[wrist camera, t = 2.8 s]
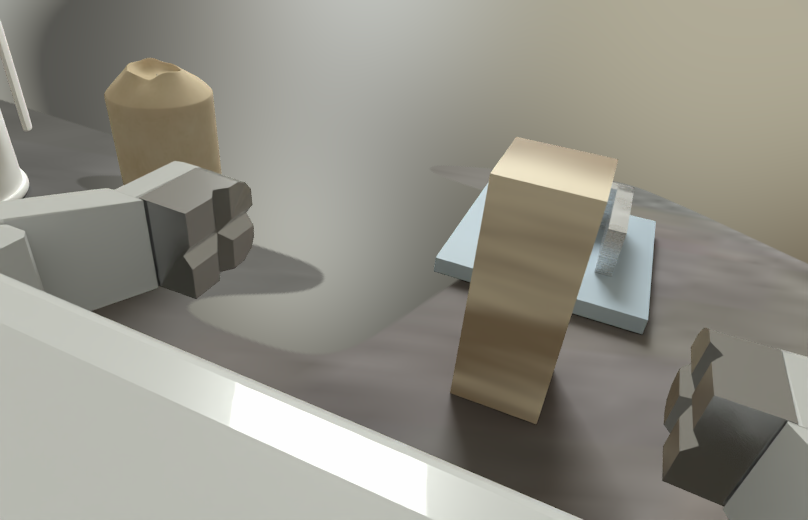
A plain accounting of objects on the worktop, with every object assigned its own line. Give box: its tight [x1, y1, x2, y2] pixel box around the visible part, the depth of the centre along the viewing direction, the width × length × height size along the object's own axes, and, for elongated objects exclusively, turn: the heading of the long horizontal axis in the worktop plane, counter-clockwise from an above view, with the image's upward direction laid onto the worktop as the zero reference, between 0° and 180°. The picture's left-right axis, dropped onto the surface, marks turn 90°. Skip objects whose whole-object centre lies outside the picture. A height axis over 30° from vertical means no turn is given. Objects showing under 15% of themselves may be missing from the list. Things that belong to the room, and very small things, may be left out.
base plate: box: [434, 182, 656, 334], centre depth 36 cm, size 12×12×1 cm
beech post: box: [450, 137, 618, 424], centre depth 24 cm, size 4×4×11 cm
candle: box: [104, 58, 221, 185], centre depth 33 cm, size 6×6×10 cm
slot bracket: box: [594, 182, 634, 277], centre depth 36 cm, size 8×7×3 cm
